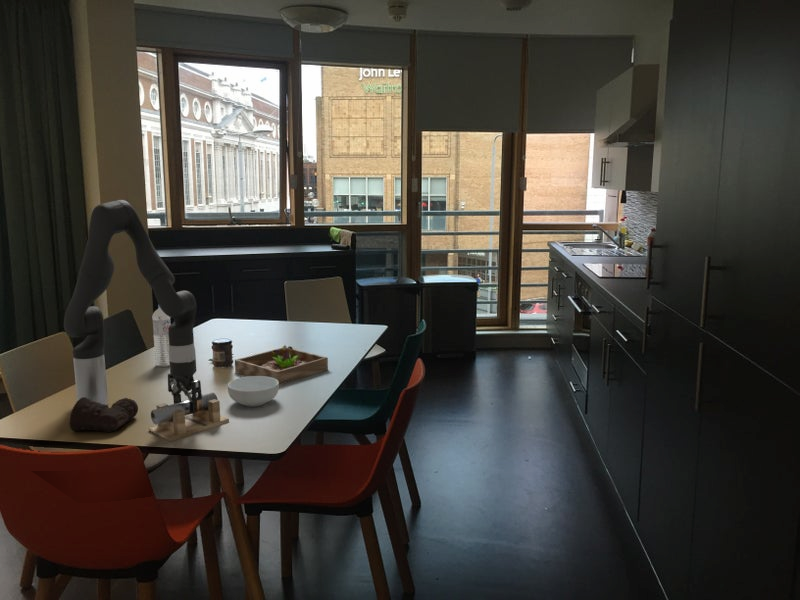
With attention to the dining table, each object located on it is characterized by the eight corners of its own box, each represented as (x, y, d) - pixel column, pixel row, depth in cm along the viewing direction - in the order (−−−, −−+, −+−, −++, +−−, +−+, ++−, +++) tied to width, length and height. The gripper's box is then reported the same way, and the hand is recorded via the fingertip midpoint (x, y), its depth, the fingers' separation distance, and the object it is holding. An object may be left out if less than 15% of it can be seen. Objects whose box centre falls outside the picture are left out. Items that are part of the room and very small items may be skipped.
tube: (158, 427, 186) (159, 413, 185) (150, 421, 189) (150, 407, 187) (217, 408, 201) (218, 395, 200) (209, 403, 204) (209, 390, 202)
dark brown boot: (140, 394, 203) (92, 386, 202) (121, 414, 188) (69, 406, 187) (138, 422, 205) (90, 415, 204) (119, 444, 190) (67, 436, 189)
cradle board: (148, 431, 192) (147, 407, 191) (206, 412, 208) (205, 390, 206) (170, 441, 185) (169, 416, 183) (229, 421, 200) (227, 398, 199)
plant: (253, 379, 244) (252, 350, 242) (266, 364, 263) (265, 338, 261) (306, 380, 243) (305, 351, 241) (315, 365, 262) (314, 338, 260)
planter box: (235, 372, 251) (234, 359, 250) (285, 358, 271) (285, 346, 270) (277, 385, 235) (277, 372, 235) (327, 369, 255) (327, 357, 254)
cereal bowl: (255, 415, 206) (255, 393, 205) (217, 406, 214) (216, 385, 213) (289, 399, 220) (288, 379, 219) (252, 391, 228) (251, 372, 227)
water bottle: (159, 368, 256) (154, 307, 252) (153, 364, 261) (148, 304, 257) (176, 365, 260) (172, 304, 256) (169, 361, 266) (166, 302, 261)
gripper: (158, 356, 193) (161, 407, 196) (184, 365, 184) (188, 418, 187) (180, 351, 199) (183, 401, 202) (207, 359, 190) (210, 411, 193)
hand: (185, 409), depth 194 cm, fingers open, 8 cm apart
